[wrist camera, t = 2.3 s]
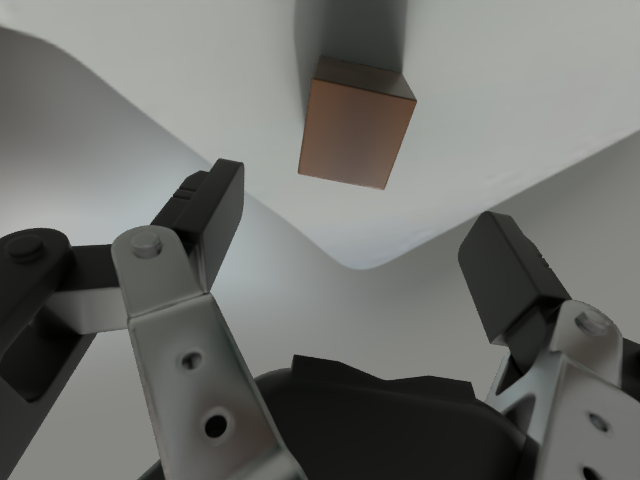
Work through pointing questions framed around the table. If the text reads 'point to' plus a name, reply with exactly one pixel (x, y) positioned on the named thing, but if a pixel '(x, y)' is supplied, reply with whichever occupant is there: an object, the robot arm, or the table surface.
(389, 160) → the block
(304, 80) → the table surface
